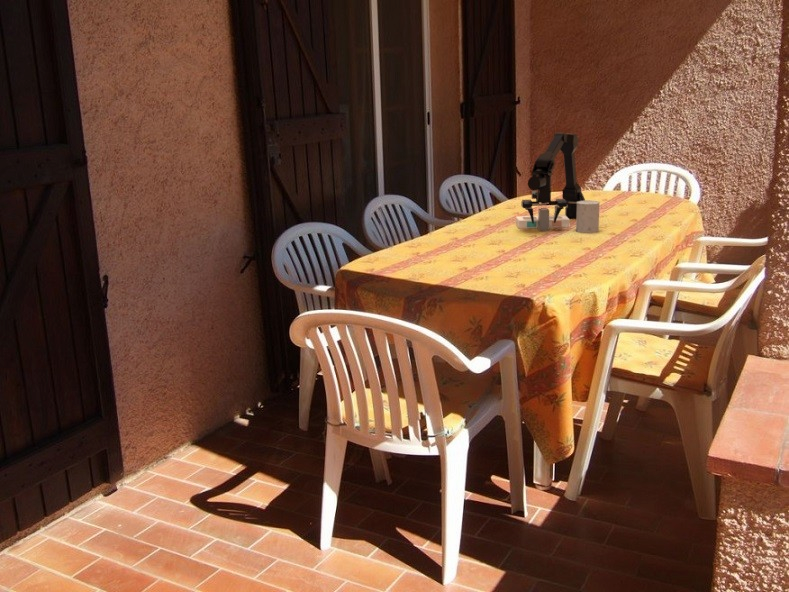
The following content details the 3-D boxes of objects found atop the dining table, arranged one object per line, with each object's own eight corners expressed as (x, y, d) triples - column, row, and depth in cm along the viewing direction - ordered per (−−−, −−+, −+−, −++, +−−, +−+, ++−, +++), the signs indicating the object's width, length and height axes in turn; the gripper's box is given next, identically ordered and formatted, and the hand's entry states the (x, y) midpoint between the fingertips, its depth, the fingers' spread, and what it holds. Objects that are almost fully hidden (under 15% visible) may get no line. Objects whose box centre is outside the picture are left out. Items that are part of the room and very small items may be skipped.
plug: (547, 229, 381) (547, 207, 378) (548, 231, 377) (549, 208, 374) (538, 229, 381) (538, 207, 378) (539, 231, 377) (539, 209, 374)
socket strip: (565, 222, 393) (565, 215, 392) (569, 227, 383) (569, 219, 382) (515, 224, 393) (516, 216, 393) (518, 228, 383) (519, 220, 382)
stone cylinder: (573, 232, 373) (573, 203, 370) (579, 228, 381) (580, 200, 378) (595, 233, 368) (596, 204, 365) (601, 229, 377) (602, 201, 373)
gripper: (562, 183, 382) (562, 219, 386) (519, 184, 382) (519, 220, 386) (567, 187, 371) (566, 223, 375) (523, 188, 371) (522, 225, 375)
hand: (543, 223), depth 378 cm, fingers open, 9 cm apart
